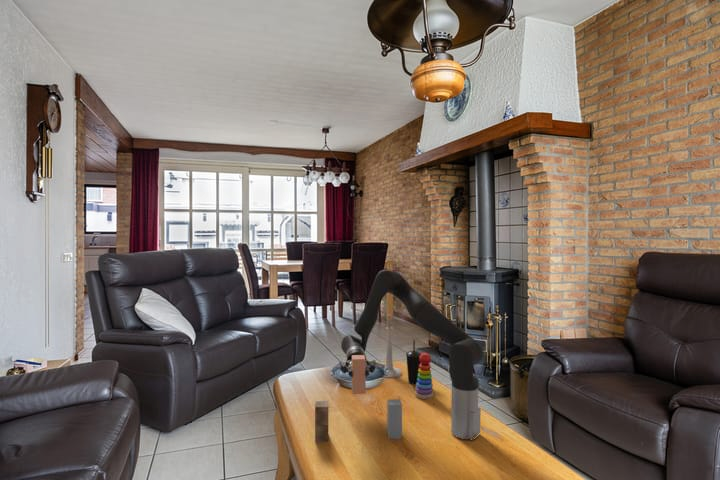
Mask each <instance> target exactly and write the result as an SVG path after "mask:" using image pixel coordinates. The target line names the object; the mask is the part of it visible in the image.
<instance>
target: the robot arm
mask: <svg viewBox="0 0 720 480" xmlns="http://www.w3.org/2000/svg"><path fill="white" fill-rule="evenodd" d="M387 293H388V294H391V295H393V296H395V297H396V298H397V299H398V300H399V301H400V302H401V303H402V304H403V305H404V307H405V308H406V310H407V312H408V314H409V316H410V317H411V318H412V319H413V321H415V323H416V324H417V325H418V326H420V327H421V328H422V330H424V331H426V332H428V333H429V334H432V335H434V336H436V337H438V338H440V339H442V340H444V341H445V342H447V343H448V344H449V345H450V346H451V347H450V349H449V354H448V366H449V378H450V380H451V408H450V409H451V414H450V416H451V417H450V418H451V424H450V425H451V426H450V427H451V428H450V430H451V432H452V433H451V434H452V435H453V436H454V435H455V436H457V437H459V438H463V439H472V440H473V439H474V438H475V437H476V436H477V435H478V434H479V433H480V434H481V414H482V413H481V408H480V407H479V385H480V382H479V379H478V377H476V376H475V375H474V366H475V365H477V364H479V363H481V361H482V360H483V358H484V351H483V348H482V346H481V344H479V342H478V341H477V340H475V339H474V338H473V337H472V336H471V335H469V334H467V333H466V332H465V331H463V330H462V329H460V328H459V327H458V326H457V325H455V324H454V323H453V322H452V321H451V320H450V319H449V318H448V317H446V316H445V315H444V314H443V313H442V312H441V311H440V310H439V309H438V308H437V307H435V306H434V305H433V304H432V303H431V302H430V301H429V300H428V299H426V298H425V297H424V296H423V295H422V294H420V293H419V292H418V291H416V290H415V289H414V288H413V287H412V286H411V285H410V284H409V282H407V280H406V279H405V278H404V277H403V276H402V275H401V274H400V273H399V272H397V271H393V270H390V269H382V270H380V271H379V272H378V273H377V274H376V275H375V279H374V281H373V283H372V287H371V290H370V292H369V295H368V298H367V301H366V304H365V305H364V309H363V310H362V312H361V313H360V316H359V318H358V320H357V321H356V323H355V325H354V328H353V329H354V332H355V333H356V334H357V335H359V337H360V338H361V339H360V338H358V337H356V336H354V335H351V334H348V335H345V336H344V337H342V340H341V345H340V346H341V349H342V351H343V353H344V354H345V360H346V361H345V362H343V361H342V360H340V361H338V369H339V370H340V371H341V372H342V373H343V374H348V377H350V378H352V377H353V371H352V355H365V365H366V370H365V377H366V378H367V377H368V376H369V375H370V373H371V374H372V373H374V372H375V369H376V368H377V367H376V366H377V364H376V360H372V361H369V360H368V359H367V356H366V353H365V352H366V349H367V345H368V340H369V337H370V334H371V332H372V330H373V329H374V327H375V326H376V323H377V320H378V318H379V311H380V306H381V303H382V300H383V299H384V297H385V296H386V295H387ZM455 436H454V437H455ZM457 437H456V438H457ZM459 438H458V439H459ZM463 439H462V440H463ZM473 441H474V440H473Z"/></svg>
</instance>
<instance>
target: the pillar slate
mask: <svg viewBox="0 0 720 480" xmlns="http://www.w3.org/2000/svg"><path fill="white" fill-rule="evenodd" d="M386 402H387V403H386V404H387V405H386V406H387V407H386V409H387V411H386V416H387V417H386V418H387V419H386V428H387V429H386V433H387V437H388V440H402V437H403V403H402V401H401V399H399V398H396V399H395V398H393V399H391V398H390V399H389V398H388V399H387V401H386Z"/></svg>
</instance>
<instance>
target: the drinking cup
mask: <svg viewBox="0 0 720 480" xmlns="http://www.w3.org/2000/svg"><path fill="white" fill-rule="evenodd" d="M412 344H413V345H412V346H413V347H412V348H413V350H410V351H407V352H406V353H405V355H406V367H407V368H406V369H407V376H408V377H407V379H408V380H407V381H408V384H411V385H416V384H417V378H418V373H419V372H418V370H419V365H420V364H421V362H420V360H419V357H420V355H421V354H422V352H420V351H417V350H416V340H413V342H412Z"/></svg>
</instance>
